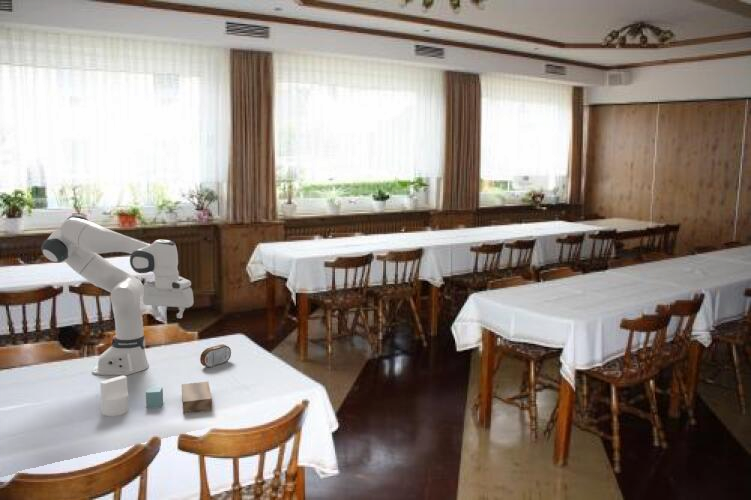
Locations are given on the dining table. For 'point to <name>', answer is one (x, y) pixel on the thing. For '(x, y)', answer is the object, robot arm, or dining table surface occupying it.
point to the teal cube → (154, 397)
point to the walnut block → (196, 397)
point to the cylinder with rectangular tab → (114, 396)
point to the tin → (215, 355)
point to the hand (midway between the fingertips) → (168, 317)
